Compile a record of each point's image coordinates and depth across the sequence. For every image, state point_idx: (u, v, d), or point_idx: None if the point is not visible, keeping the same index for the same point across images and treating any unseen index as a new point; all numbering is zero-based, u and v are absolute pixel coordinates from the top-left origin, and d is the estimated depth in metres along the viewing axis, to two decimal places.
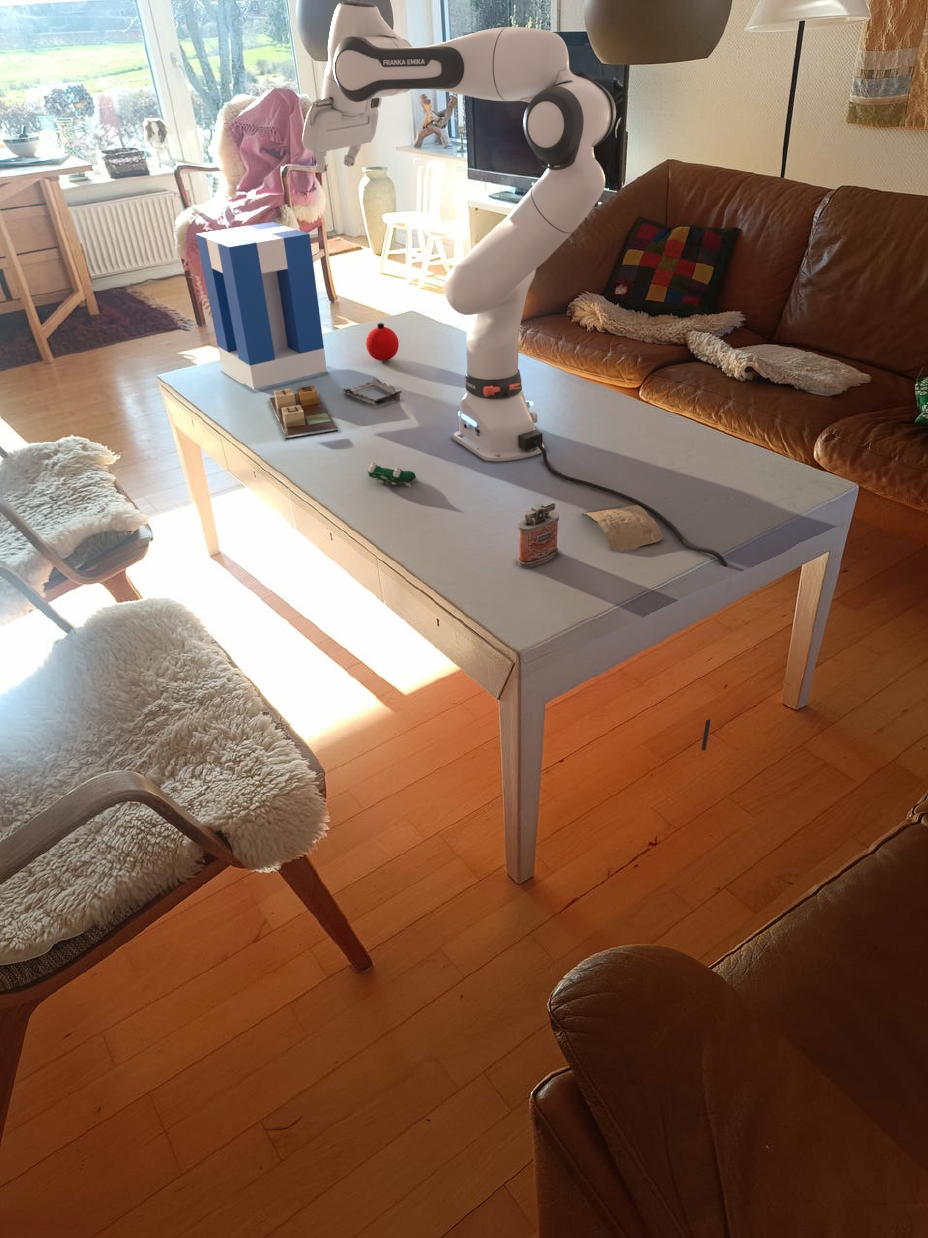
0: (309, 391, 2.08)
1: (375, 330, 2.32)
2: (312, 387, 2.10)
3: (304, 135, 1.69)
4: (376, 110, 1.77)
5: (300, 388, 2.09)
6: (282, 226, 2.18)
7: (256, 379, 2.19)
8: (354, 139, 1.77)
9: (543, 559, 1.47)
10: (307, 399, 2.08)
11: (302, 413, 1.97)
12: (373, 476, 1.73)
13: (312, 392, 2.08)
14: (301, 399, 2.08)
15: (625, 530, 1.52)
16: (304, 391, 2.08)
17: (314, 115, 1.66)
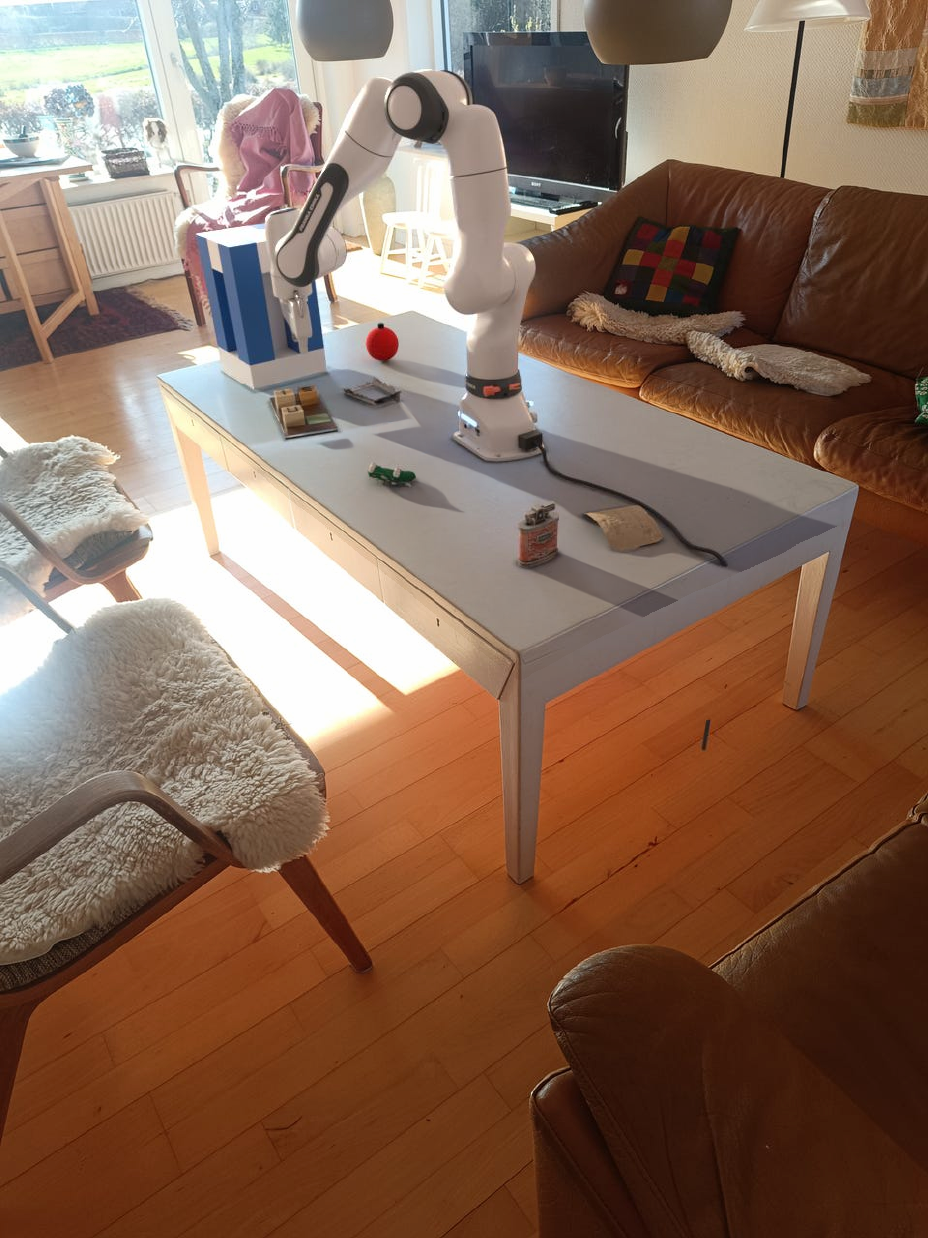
0: (309, 391, 2.08)
1: (375, 330, 2.32)
2: (312, 387, 2.10)
3: (298, 328, 1.91)
4: None
5: (300, 388, 2.09)
6: None
7: (256, 379, 2.19)
8: (302, 316, 2.02)
9: (543, 559, 1.47)
10: (307, 399, 2.08)
11: (302, 413, 1.97)
12: (373, 476, 1.73)
13: (312, 392, 2.08)
14: (301, 399, 2.08)
15: (625, 530, 1.52)
16: (304, 391, 2.08)
17: (303, 308, 1.89)
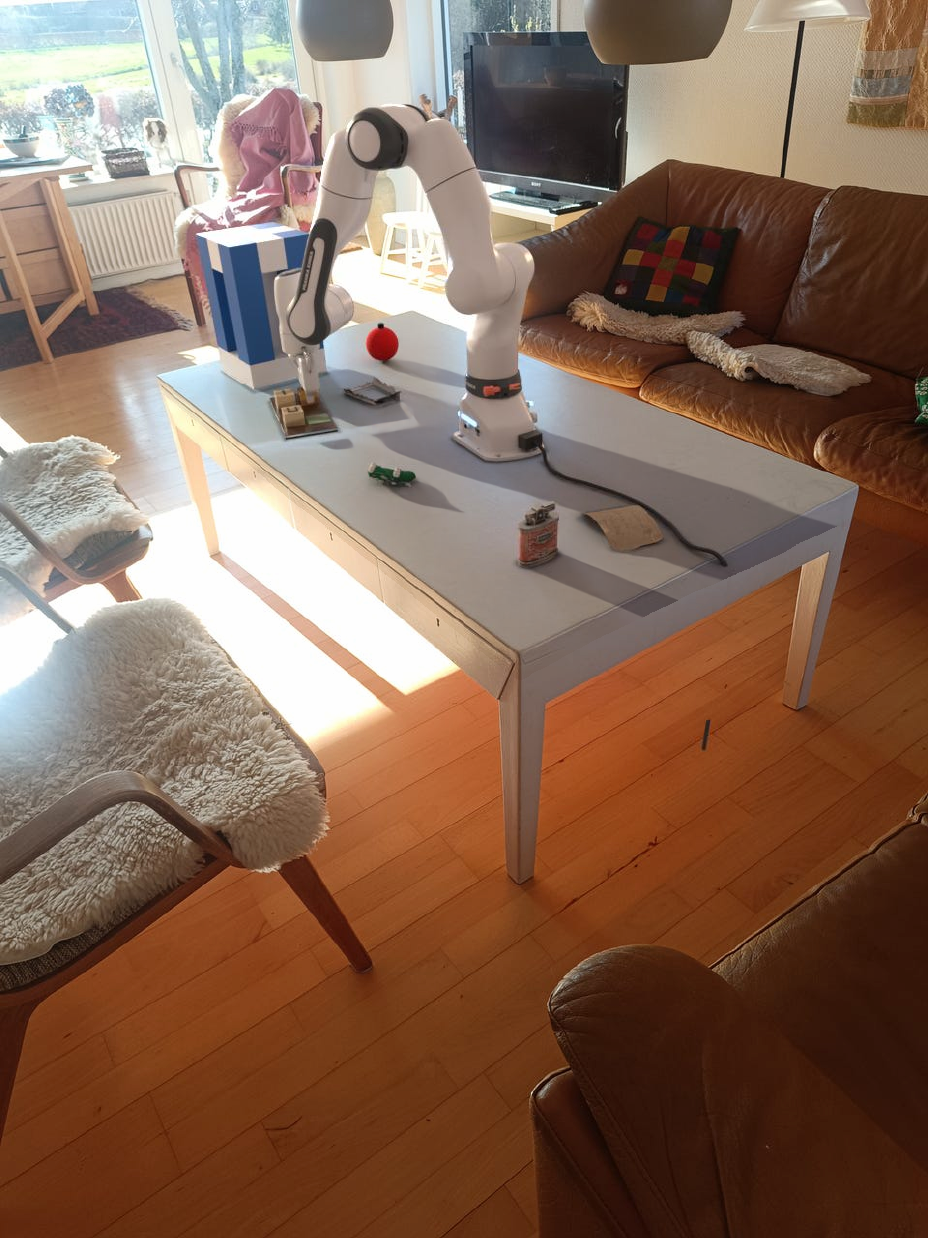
0: None
1: (375, 330, 2.32)
2: None
3: (307, 383, 1.98)
4: None
5: (300, 388, 2.09)
6: (282, 226, 2.18)
7: (256, 379, 2.19)
8: None
9: (543, 559, 1.47)
10: None
11: (302, 413, 1.97)
12: (373, 476, 1.73)
13: None
14: (301, 399, 2.07)
15: (625, 530, 1.52)
16: (304, 391, 2.08)
17: (311, 364, 1.96)
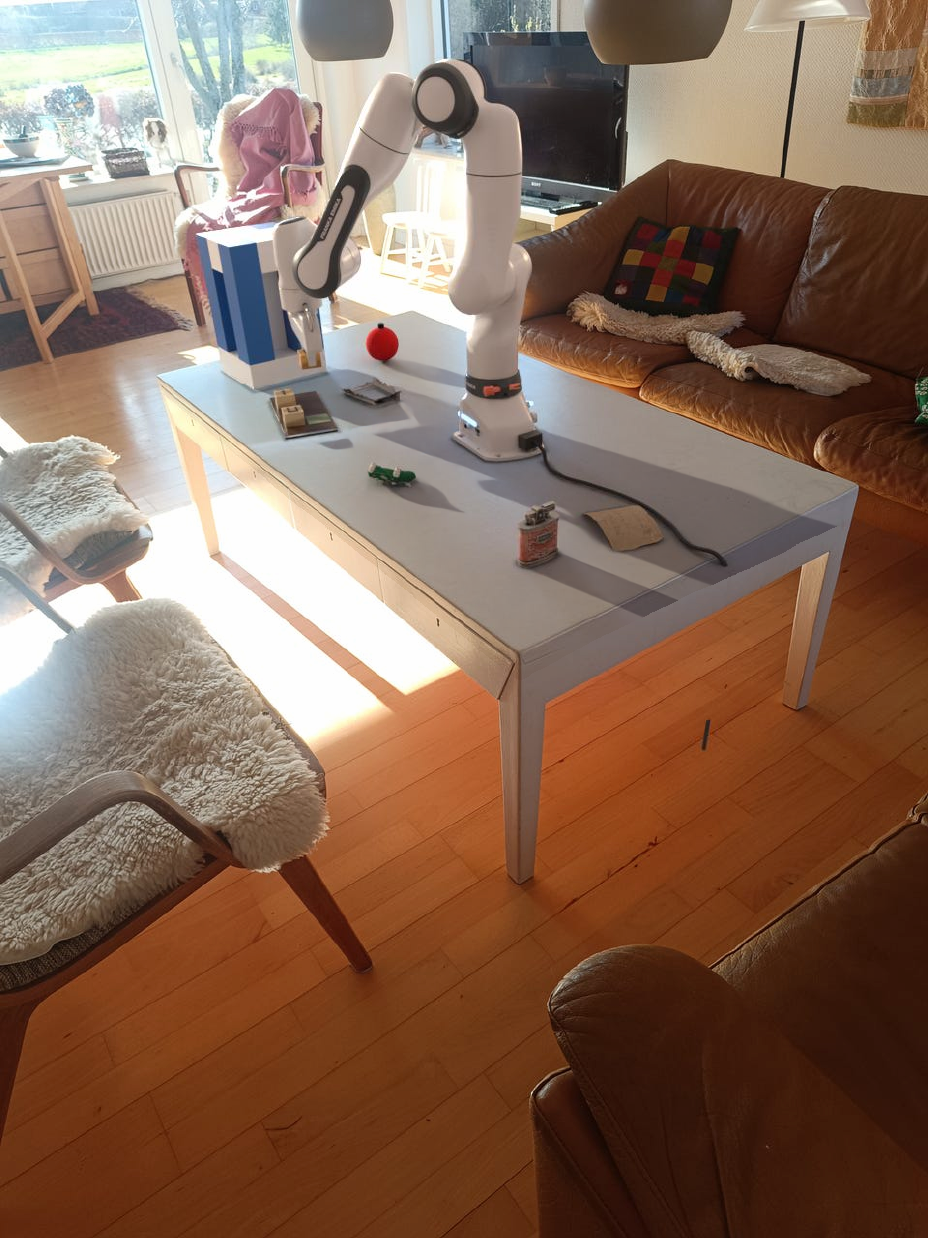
0: None
1: (375, 330, 2.32)
2: None
3: (308, 343, 1.82)
4: None
5: (301, 350, 1.94)
6: None
7: (256, 379, 2.19)
8: None
9: (543, 559, 1.47)
10: None
11: (302, 413, 1.97)
12: (373, 476, 1.73)
13: None
14: (302, 362, 1.92)
15: (625, 530, 1.52)
16: (305, 353, 1.92)
17: (312, 321, 1.81)
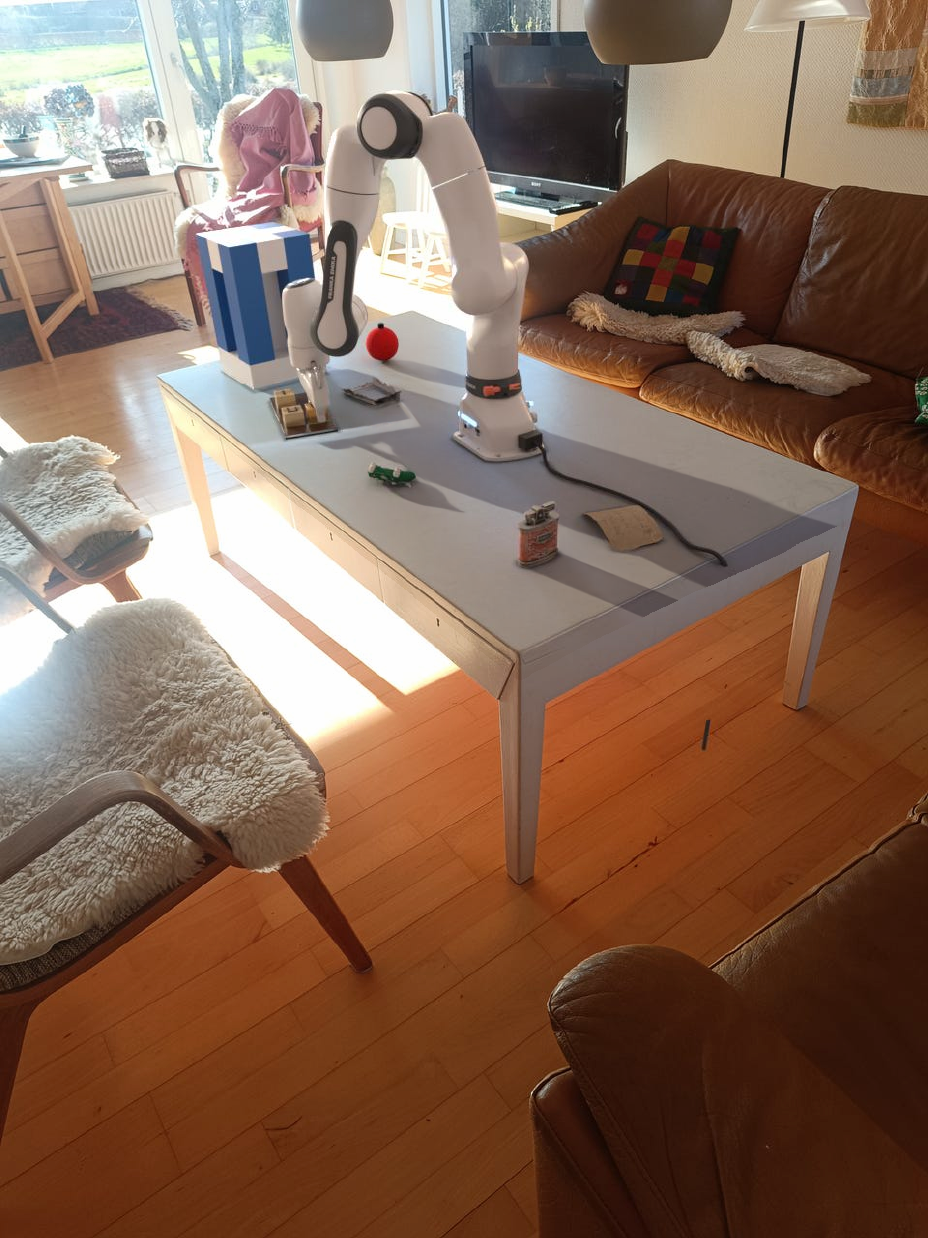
0: None
1: (375, 330, 2.32)
2: None
3: (316, 399, 1.88)
4: None
5: (308, 404, 2.00)
6: (282, 226, 2.18)
7: (256, 379, 2.19)
8: None
9: (543, 559, 1.47)
10: (316, 416, 1.99)
11: (302, 413, 1.97)
12: (373, 476, 1.73)
13: None
14: (310, 416, 1.98)
15: (625, 530, 1.52)
16: (313, 407, 1.98)
17: (321, 379, 1.87)
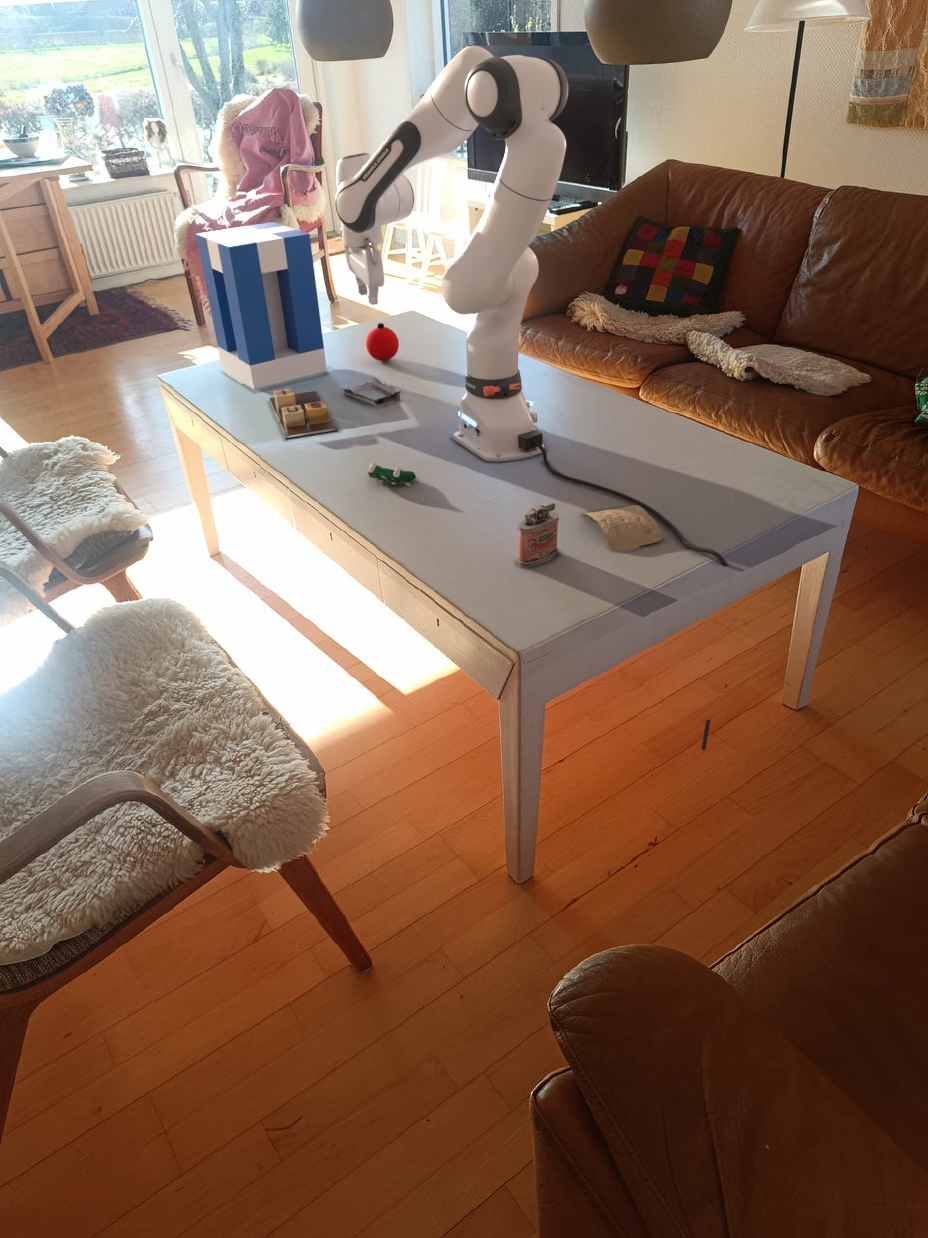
0: (318, 407, 1.98)
1: (375, 330, 2.32)
2: (321, 403, 2.00)
3: (371, 276, 1.88)
4: None
5: (308, 404, 2.00)
6: (282, 226, 2.18)
7: (256, 379, 2.19)
8: None
9: (543, 559, 1.47)
10: (316, 416, 1.99)
11: (302, 413, 1.97)
12: (373, 476, 1.73)
13: (321, 409, 1.98)
14: (310, 416, 1.98)
15: (625, 530, 1.52)
16: (313, 407, 1.98)
17: None
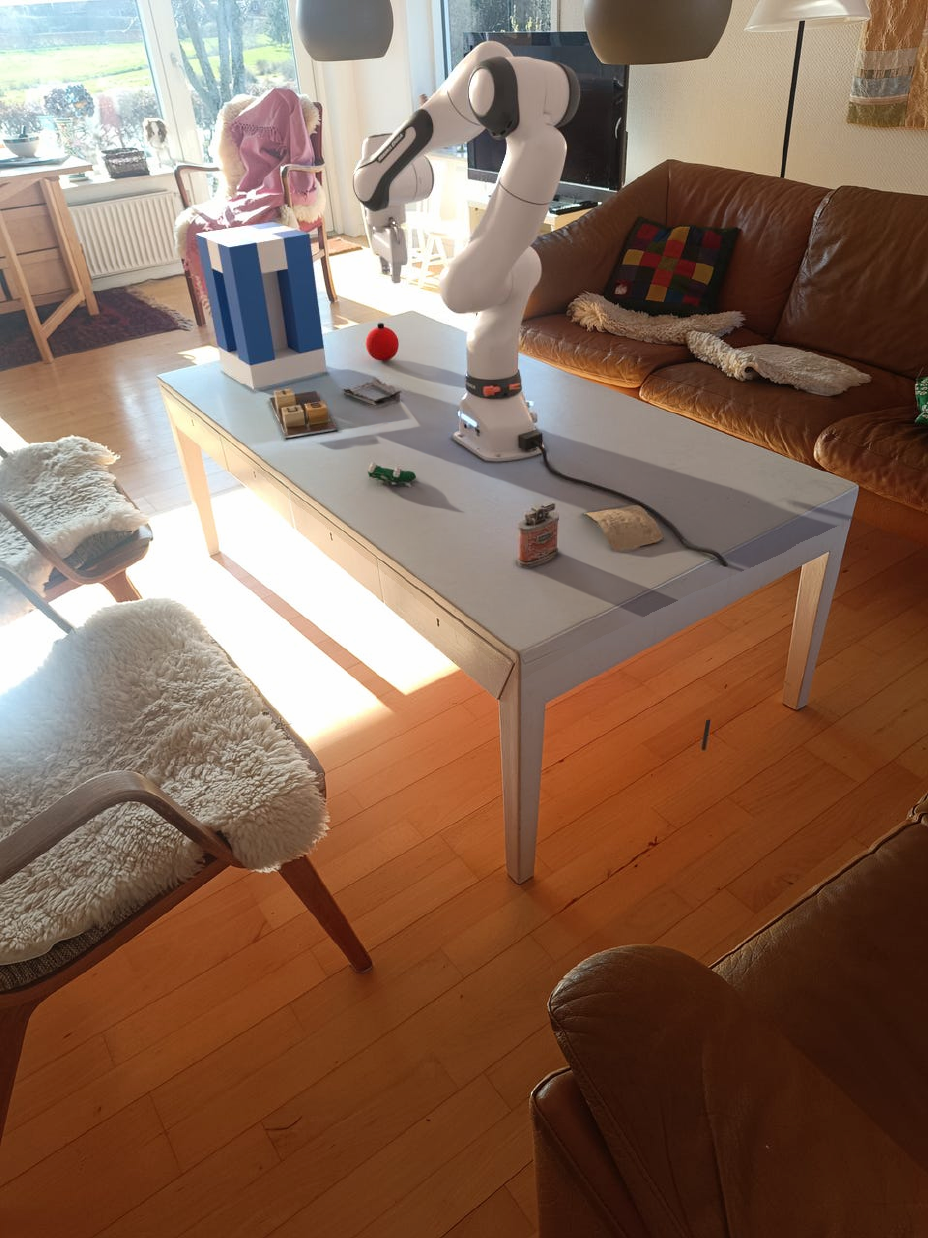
0: (318, 407, 1.98)
1: (375, 330, 2.32)
2: (321, 403, 2.00)
3: (395, 255, 1.91)
4: None
5: (308, 404, 2.00)
6: (282, 226, 2.18)
7: (256, 379, 2.19)
8: None
9: (543, 559, 1.47)
10: (316, 416, 1.99)
11: (302, 413, 1.97)
12: (373, 476, 1.73)
13: (321, 409, 1.98)
14: (310, 416, 1.98)
15: (625, 530, 1.52)
16: (313, 407, 1.98)
17: None
